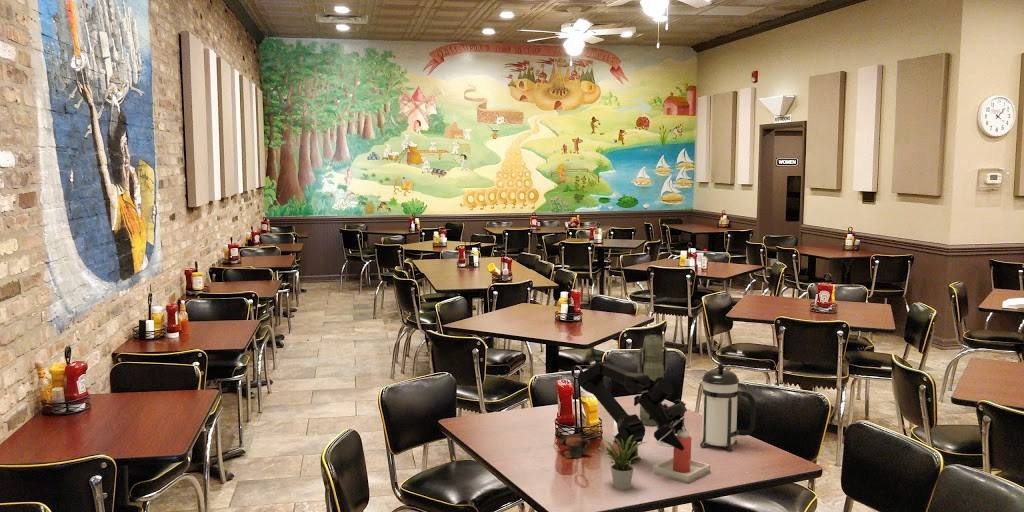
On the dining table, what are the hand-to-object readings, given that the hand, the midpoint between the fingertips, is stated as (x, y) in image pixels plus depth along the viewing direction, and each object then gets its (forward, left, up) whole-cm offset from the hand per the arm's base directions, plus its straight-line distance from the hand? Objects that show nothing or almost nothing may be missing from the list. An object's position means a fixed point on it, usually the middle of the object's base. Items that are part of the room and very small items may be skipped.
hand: (686, 445), depth 275 cm
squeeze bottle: (0, +1, -8) cm, 9 cm away
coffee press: (+34, +5, -10) cm, 35 cm away
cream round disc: (+24, +21, -10) cm, 33 cm away
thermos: (+39, +39, -10) cm, 56 cm away
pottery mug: (-11, +38, -10) cm, 41 cm away
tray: (0, +1, -10) cm, 10 cm away
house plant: (-22, +8, -10) cm, 26 cm away
